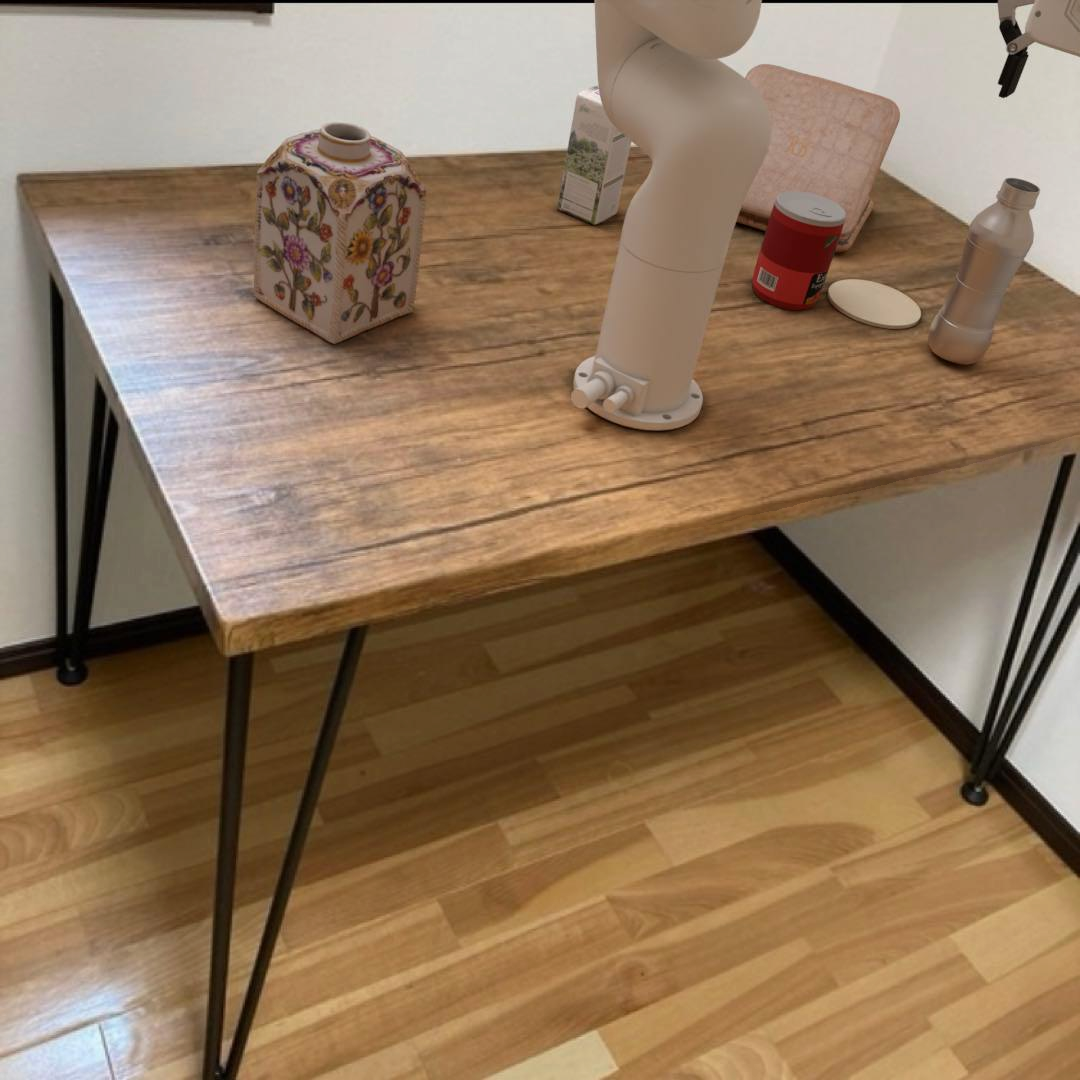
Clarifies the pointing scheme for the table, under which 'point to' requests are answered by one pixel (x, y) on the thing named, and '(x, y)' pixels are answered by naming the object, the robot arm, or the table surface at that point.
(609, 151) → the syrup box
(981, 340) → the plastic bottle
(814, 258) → the canned food
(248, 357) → the table surface
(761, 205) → the case
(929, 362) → the table surface
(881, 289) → the coaster
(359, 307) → the decorative jar
